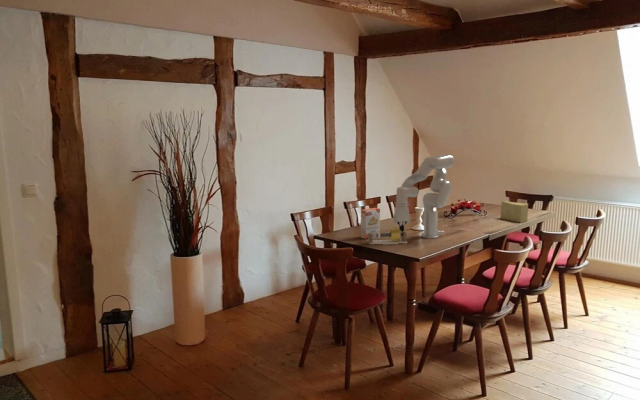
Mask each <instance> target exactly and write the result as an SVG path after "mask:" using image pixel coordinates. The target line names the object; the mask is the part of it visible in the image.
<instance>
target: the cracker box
mask: <svg viewBox="0 0 640 400" xmlns="http://www.w3.org/2000/svg"><path fill="white" fill-rule="evenodd" d="M380 226H381V208H378V207H372V208H366V209H360V238H362V239H365V240H368V239H367V238H368V233H371V232H376V234H377V233H378V232H380V233H381V227H380Z"/></svg>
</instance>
